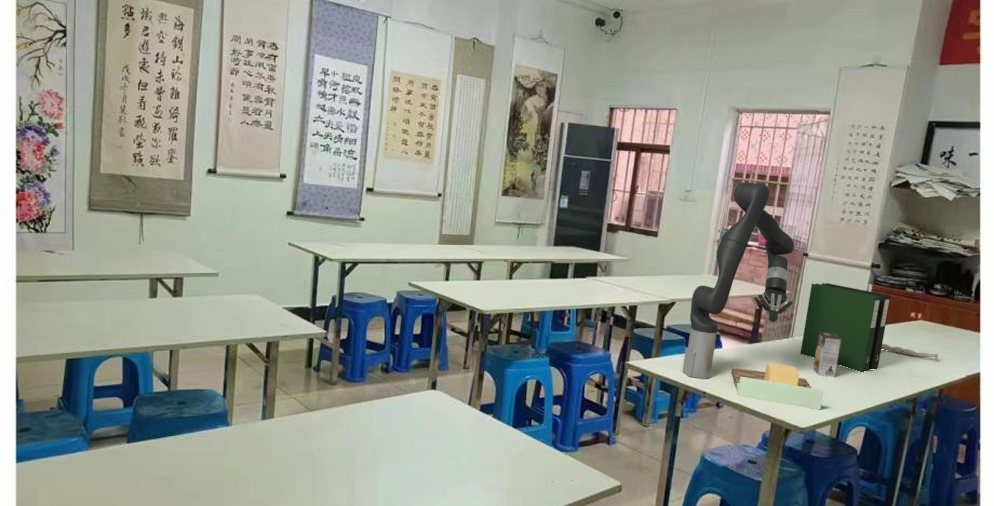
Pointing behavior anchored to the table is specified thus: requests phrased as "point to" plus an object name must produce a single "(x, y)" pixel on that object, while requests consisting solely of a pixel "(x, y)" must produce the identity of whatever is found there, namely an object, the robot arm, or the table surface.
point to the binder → (847, 323)
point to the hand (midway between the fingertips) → (772, 321)
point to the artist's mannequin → (908, 351)
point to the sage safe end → (779, 392)
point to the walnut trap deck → (758, 376)
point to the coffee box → (827, 354)
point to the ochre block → (781, 374)
